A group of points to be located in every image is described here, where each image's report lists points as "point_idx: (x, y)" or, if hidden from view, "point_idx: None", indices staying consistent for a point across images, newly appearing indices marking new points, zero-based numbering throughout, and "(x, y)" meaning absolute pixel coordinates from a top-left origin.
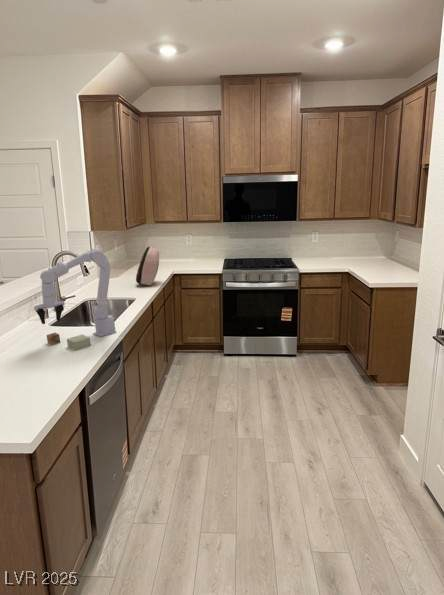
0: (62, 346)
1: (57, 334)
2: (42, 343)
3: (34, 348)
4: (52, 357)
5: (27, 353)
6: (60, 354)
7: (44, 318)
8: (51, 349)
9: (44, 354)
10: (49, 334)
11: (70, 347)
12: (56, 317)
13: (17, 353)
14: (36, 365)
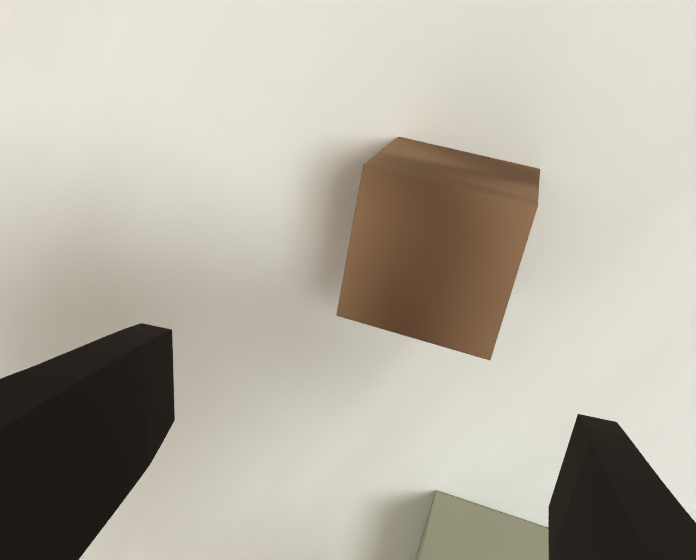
0: (411, 427)
1: (470, 341)
2: (352, 63)
3: (189, 144)
4: (181, 533)
5: (75, 216)
6: (259, 554)
7: (72, 555)
8: (286, 377)
9: None
10: (406, 197)
11: (419, 547)
12: (592, 469)
13: (2, 97)
14: None
